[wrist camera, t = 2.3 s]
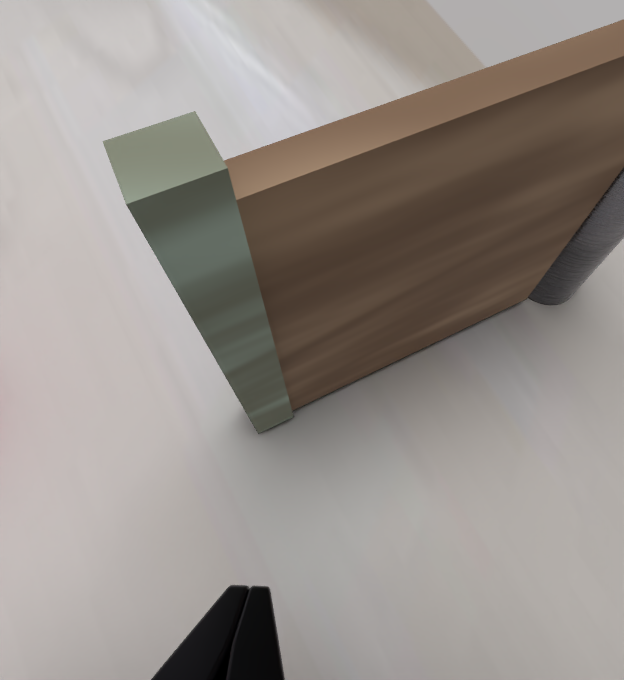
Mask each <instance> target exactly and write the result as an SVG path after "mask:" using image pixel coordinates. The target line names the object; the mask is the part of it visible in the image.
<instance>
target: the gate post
mask: <svg viewBox="0 0 624 680" xmlns="http://www.w3.org/2000/svg"><path fill="white" fill-rule="evenodd" d="M623 238H624V168H623V169H622V170H621V172H620V173H619V174H618V176H617V177H616V178H615V180H614V181H613V182H612V184H611V185H610V187H609V188H608V189H607V191H606V192H605V193H604V195H603V196H602V197H601V199H600V200H599V201H598V203H597V204H596V205H595V207H594V208H593V210H592V211H591V212H590V214H589V215H588V216H587V218H586V219H585V220H584V222H583V223H582V224H581V226H580V227H579V229H578V230H577V231H576V233H575V234H574V235H573V237H572V238H571V239H570V241H569V242H568V243H567V245H566V246H565V248H564V249H563V250H562V252H561V253H560V254H559V256H558V257H557V258H556V260H555V261H554V262H553V264H552V265H551V266H550V268H549V269H548V271H547V272H546V273H545V275H544V276H543V277H542V279H541V280H540V281H539V283H538V284H537V285H536V287H535V288H534V290H533V291H532V292H531V294H530V295H529V296H528V297H529V298H530V299H532V300H534V301H536V302H538V303H542V304H547V305H556V304H561V303H563V302H565V301H567V300H568V299H569V298H570V297H571V296H572V295H573V294H574V293H575V292H576V290H577V289H578V288H579V287H580V286H581V285H582V284H583V283H584V281H585V280H586V279H587V278H588V277H589V276H590V275H591V274H592V273H593V271H594V270H595V269H596V268H597V267H598V266H599V265H600V264H601V263H602V261H603V260H604V259H605V258H606V257H607V256H608V255H609V254H610V253H611V251H612V250H613V249H614V248H615V247H616V246H617V245H618V244H619V243H620V241H621V240H622V239H623Z"/></svg>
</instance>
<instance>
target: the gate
mask: <svg viewBox="0 0 624 680" xmlns="http://www.w3.org/2000/svg"><path fill="white" fill-rule="evenodd" d="M103 144H104V146H105V149H106V152H107V154H108V157H109V160H110V162H111V165H112V168H113V170H114V173H115V176H116V178H117V181H118V184H119V186H120V189H121V192H122V194H123V197H124V200H125V202H126V205H127V207H128V208H129V210H130V212H131V214H132V215H133V217H134V219H135V220H136V222H137V224H138V226H139V227H140V229H141V231H142V233H143V234H144V236H145V238H146V240H147V241H148V243H149V245H150V247H151V248H152V250H153V252H154V253H155V255H156V257H157V259H158V260H159V262H160V264H161V266H162V267H163V269H164V271H165V273H166V274H167V276H168V278H169V280H170V281H171V283H172V285H173V286H174V288H175V290H176V292H177V293H178V295H179V297H180V299H181V300H182V302H183V304H184V306H185V307H186V309H187V311H188V313H189V314H190V316H191V318H192V319H193V321H194V323H195V325H196V326H197V328H198V330H199V332H200V333H201V335H202V337H203V339H204V340H205V342H206V344H207V346H208V347H209V349H210V351H211V352H212V354H213V356H214V358H215V359H216V361H217V363H218V365H219V366H220V368H221V370H222V372H223V373H224V375H225V377H226V379H227V380H228V382H229V384H230V385H231V387H232V389H233V391H234V392H235V394H236V396H237V398H238V399H239V401H240V403H241V405H242V406H243V408H244V410H245V412H246V413H247V415H248V417H249V419H250V420H251V422H252V424H253V425H254V427H255V429H256V431H257V432H258V434H259V433H261V432H263V431H265V430H267V429H269V428H271V427H274V426H276V425H278V424H280V423H282V422H284V421H286V420H288V419H290V418H292V417H294V416H293V412H292V411H293V410H295V409H297V408H299V407H301V406H303V405H305V404H307V403H309V402H312V401H314V400H316V399H318V398H320V397H322V396H324V395H326V394H328V393H330V392H333V391H335V390H337V389H339V388H341V387H343V386H345V385H347V384H349V383H351V382H354V381H356V380H358V379H360V378H362V377H364V376H366V375H368V374H370V373H372V372H374V371H377V370H379V369H381V368H383V367H385V366H387V365H389V364H391V363H393V362H395V361H398V360H400V359H402V358H404V357H406V356H408V355H410V354H412V353H414V352H416V351H419V350H421V349H423V348H425V347H427V346H429V345H431V344H433V343H435V342H437V341H439V340H442V339H444V338H446V337H448V336H450V335H452V334H454V333H456V332H458V331H460V330H463V329H465V328H467V327H469V326H471V325H473V324H475V323H477V322H479V321H481V320H483V319H486V318H488V317H490V316H492V315H494V314H496V313H498V312H500V311H502V310H504V309H507V308H509V307H511V306H513V305H515V304H517V303H519V302H521V301H523V300H525V299H527V298H528V296H529V295H530V294H531V292H532V291H533V290H534V288H535V287H536V285H537V284H538V283H539V281H540V280H541V279H542V277H543V276H544V275H545V273H546V272H547V271H548V269H549V268H550V266H551V265H552V264H553V262H554V261H555V260H556V258H557V257H558V256H559V254H560V253H561V252H562V250H563V249H564V248H565V246H566V245H567V243H568V242H569V241H570V239H571V238H572V237H573V235H574V234H575V233H576V231H577V230H578V229H579V227H580V226H581V224H582V223H583V222H584V220H585V219H586V218H587V216H588V215H589V214H590V212H591V211H592V210H593V208H594V207H595V205H596V204H597V203H598V201H599V200H600V199H601V197H602V196H603V195H604V193H605V192H606V191H607V189H608V188H609V187H610V185H611V184H612V182H613V181H614V180H615V178H616V177H617V176H618V174H619V173H620V172H621V170H622V169H623V168H624V20H621V21H618V22H615V23H613V24H610V25H607V26H604V27H601V28H599V29H596V30H593V31H590V32H587V33H584V34H582V35H579V36H576V37H573V38H570V39H567V40H565V41H562V42H559V43H556V44H553V45H551V46H547V47H545V48H542V49H539V50H536V51H533V52H531V53H528V54H525V55H522V56H519V57H516V58H513V59H511V60H508V61H505V62H502V63H499V64H497V65H494V66H491V67H488V68H485V69H482V70H479V71H477V72H474V73H471V74H468V75H465V76H462V77H460V78H457V79H454V80H451V81H448V82H445V83H443V84H440V85H437V86H434V87H431V88H429V89H426V90H423V91H420V92H417V93H414V94H412V95H409V96H406V97H403V98H400V99H397V100H395V101H392V102H389V103H386V104H383V105H380V106H378V107H375V108H372V109H369V110H366V111H363V112H361V113H358V114H355V115H352V116H349V117H346V118H344V119H341V120H338V121H335V122H332V123H329V124H327V125H324V126H321V127H318V128H315V129H312V130H310V131H307V132H304V133H301V134H298V135H295V136H293V137H290V138H287V139H284V140H281V141H278V142H276V143H273V144H270V145H267V146H264V147H261V148H259V149H256V150H253V151H250V152H247V153H244V154H242V155H239V156H236V157H233V158H230V159H227V160H225V161H223V159H222V157H221V156H220V154H219V152H218V150H217V149H216V147H215V145H214V143H213V142H212V140H211V138H210V136H209V135H208V133H207V131H206V129H205V128H204V126H203V124H202V122H201V121H200V119H199V117H198V116H197V114H196V112H195V111H194V112H191V113H188V114H185V115H182V116H179V117H176V118H173V119H170V120H167V121H164V122H161V123H158V124H155V125H152V126H149V127H145V128H142V129H139V130H136V131H133V132H130V133H127V134H124V135H121V136H118V137H115V138H112V139H109V140H106V141H103Z"/></svg>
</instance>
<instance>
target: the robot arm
mask: <svg viewBox="0 0 624 680" xmlns="http://www.w3.org/2000/svg"><path fill="white" fill-rule="evenodd" d="M151 680H285V678H284V672H283V665H282V659H281V653H280V647H279V641H278V635H277V628H276V622H275V616H274V610H273V604H272V598H271V592H270V588H269V587H267V586H252V587H251V588H249V587H248V586H245V585H231V586H229V587H228V588H227V589H226V590H225V592H224V593H223V594H222V595H221V596H220V598H219V599H218V600H217V601H216V602H215V604H214V605H213V606H212V607H211V608H210V610H209V611H208V612H207V613H206V614H205V616H204V617H203V618H202V619H201V620H200V622H199V623H198V624H197V625H196V626H195V628H194V629H193V630H192V631H191V632H190V634H189V635H188V636H187V637H186V638H185V639H184V641H183V642H182V643H181V644H180V645H179V647H178V648H177V649H176V650H175V651H174V653H173V654H172V655H171V656H170V657H169V659H168V660H167V661H166V662H165V663H164V665H163V666H162V667H161V668H160V669H159V671H158V672H157V673H156V674H155V675H154V677H153V678H152V679H151Z"/></svg>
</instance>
